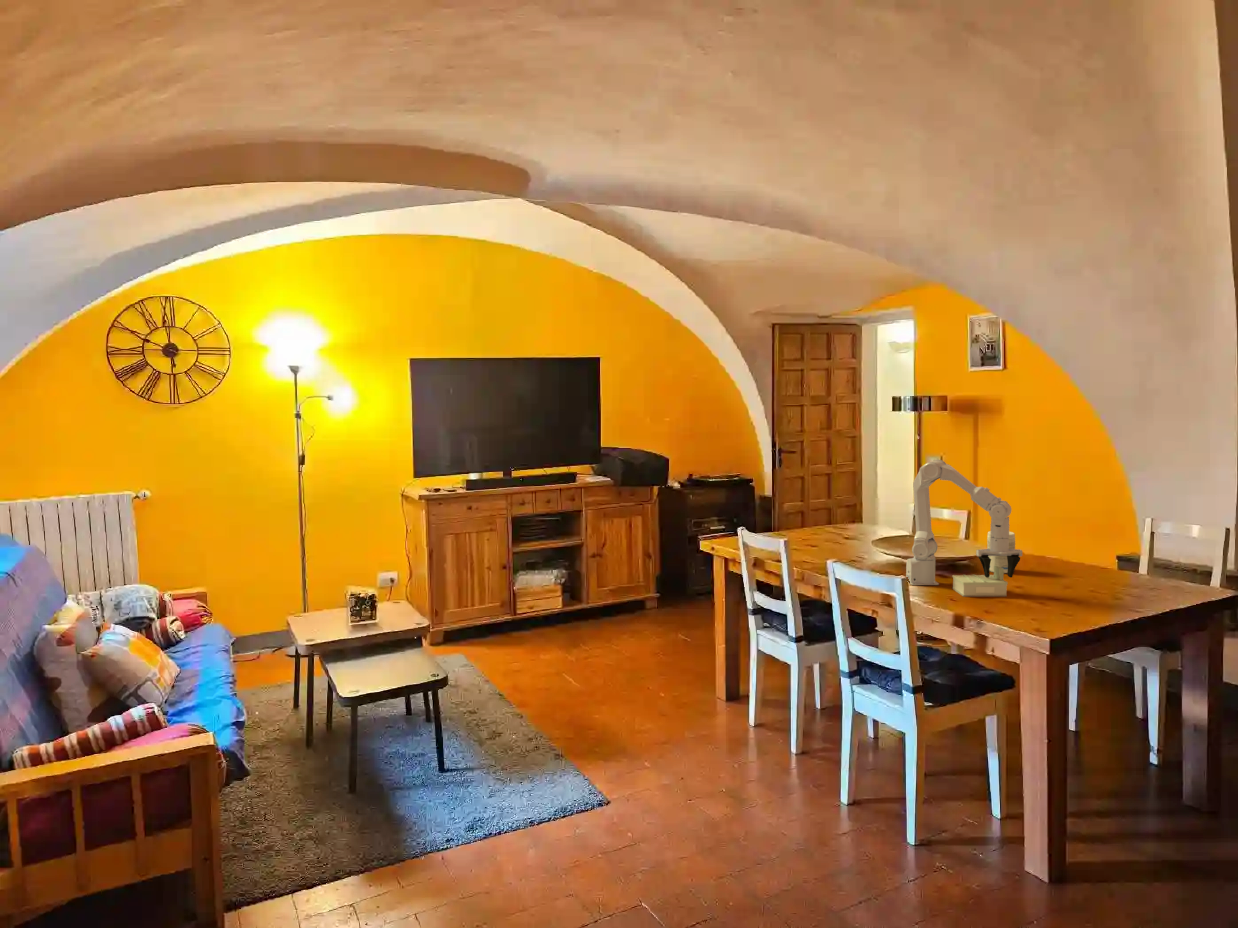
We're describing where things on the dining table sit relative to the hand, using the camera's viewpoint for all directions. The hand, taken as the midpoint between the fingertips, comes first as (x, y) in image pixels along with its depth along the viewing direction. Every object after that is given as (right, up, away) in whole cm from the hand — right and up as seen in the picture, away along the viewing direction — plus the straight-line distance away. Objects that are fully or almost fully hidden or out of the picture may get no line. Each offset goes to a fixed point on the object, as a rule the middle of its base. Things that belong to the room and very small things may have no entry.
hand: (998, 576), depth 280 cm
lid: (-6, -2, 0) cm, 6 cm away
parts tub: (-6, -5, +1) cm, 8 cm away
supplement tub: (+15, -2, +32) cm, 35 cm away
